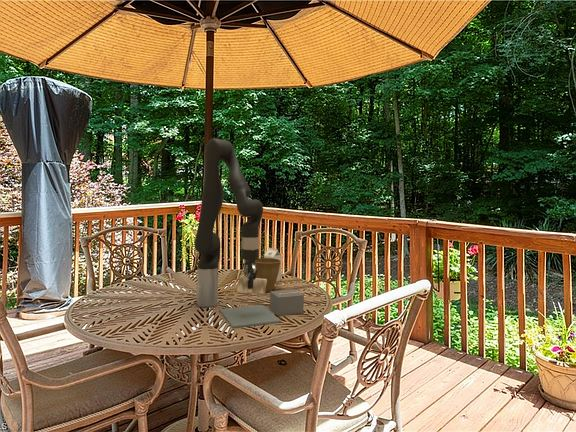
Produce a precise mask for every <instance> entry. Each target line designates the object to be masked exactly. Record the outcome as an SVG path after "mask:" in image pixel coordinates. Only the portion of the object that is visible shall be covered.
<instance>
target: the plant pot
mask: <svg viewBox="0 0 576 432" xmlns="http://www.w3.org/2000/svg"><path fill="white" fill-rule="evenodd" d="M280 262H281V263H282V260H281V261H280V260H279V259H274V258H264V257H259V258H258V259H256V260H255V263H256V268H257V269H258V271H257V275H256V278H260V279H266V280H267V283H266V289H265V293H270V291H274V287H275V285H276V283H277V282H276V280H277V276H278V273H279V268H280Z"/></svg>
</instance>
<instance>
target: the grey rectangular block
mask: <svg viewBox="0 0 576 432" xmlns="http://www.w3.org/2000/svg"><path fill="white" fill-rule="evenodd" d="M304 300H305V295H304V294H303V293H302V292H300V291H298V290H296V289H295V288H293V289H283V290H282V289H280V290H272V291H270V292H269V310H270V311H272V313H273V314H274V315H275V316H279V317H280V316H289V315H296V314H297V315H298V314H304V302H305V301H304Z"/></svg>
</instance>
